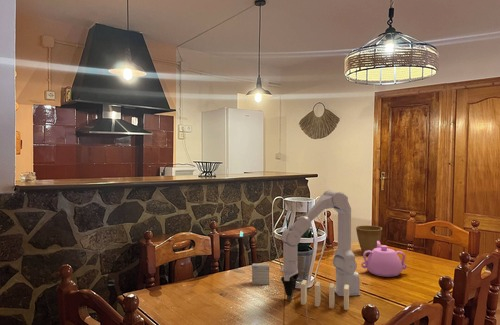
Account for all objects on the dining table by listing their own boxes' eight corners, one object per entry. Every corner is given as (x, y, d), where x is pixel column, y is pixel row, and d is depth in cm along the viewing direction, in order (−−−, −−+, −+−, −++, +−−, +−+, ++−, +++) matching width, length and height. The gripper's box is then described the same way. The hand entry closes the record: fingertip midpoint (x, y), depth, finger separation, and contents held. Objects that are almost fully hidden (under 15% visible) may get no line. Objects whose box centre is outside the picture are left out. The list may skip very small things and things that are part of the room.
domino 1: (293, 296, 148) (293, 276, 148) (290, 300, 143) (290, 280, 143) (289, 295, 149) (289, 276, 148) (287, 300, 144) (287, 280, 144)
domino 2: (306, 300, 146) (306, 280, 146) (304, 304, 142) (304, 284, 141) (303, 299, 147) (302, 280, 147) (300, 304, 142) (300, 284, 142)
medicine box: (268, 281, 168) (268, 263, 168) (269, 284, 164) (269, 265, 164) (251, 281, 168) (251, 263, 168) (252, 285, 164) (252, 266, 164)
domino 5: (348, 305, 141) (348, 284, 141) (348, 310, 136) (348, 289, 136) (344, 304, 142) (344, 284, 142) (343, 309, 137) (343, 288, 137)
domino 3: (320, 301, 145) (320, 281, 144) (318, 306, 140) (318, 286, 140) (316, 301, 145) (316, 281, 145) (314, 306, 140) (314, 285, 140)
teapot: (398, 266, 192) (398, 240, 192) (412, 279, 171) (412, 250, 170) (356, 265, 194) (356, 239, 194) (365, 278, 173) (365, 249, 173)
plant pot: (364, 249, 227) (364, 224, 227) (386, 254, 215) (386, 227, 215) (350, 253, 217) (350, 227, 217) (373, 259, 206) (373, 231, 206)
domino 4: (334, 303, 143) (334, 283, 143) (333, 308, 138) (333, 287, 138) (330, 302, 143) (330, 282, 143) (329, 307, 139) (329, 287, 139)
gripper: (284, 254, 154) (284, 285, 154) (276, 263, 140) (276, 298, 140) (301, 255, 152) (301, 287, 152) (294, 265, 138) (294, 300, 138)
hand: (290, 293), depth 146 cm, fingers closed on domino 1, 5 cm apart
